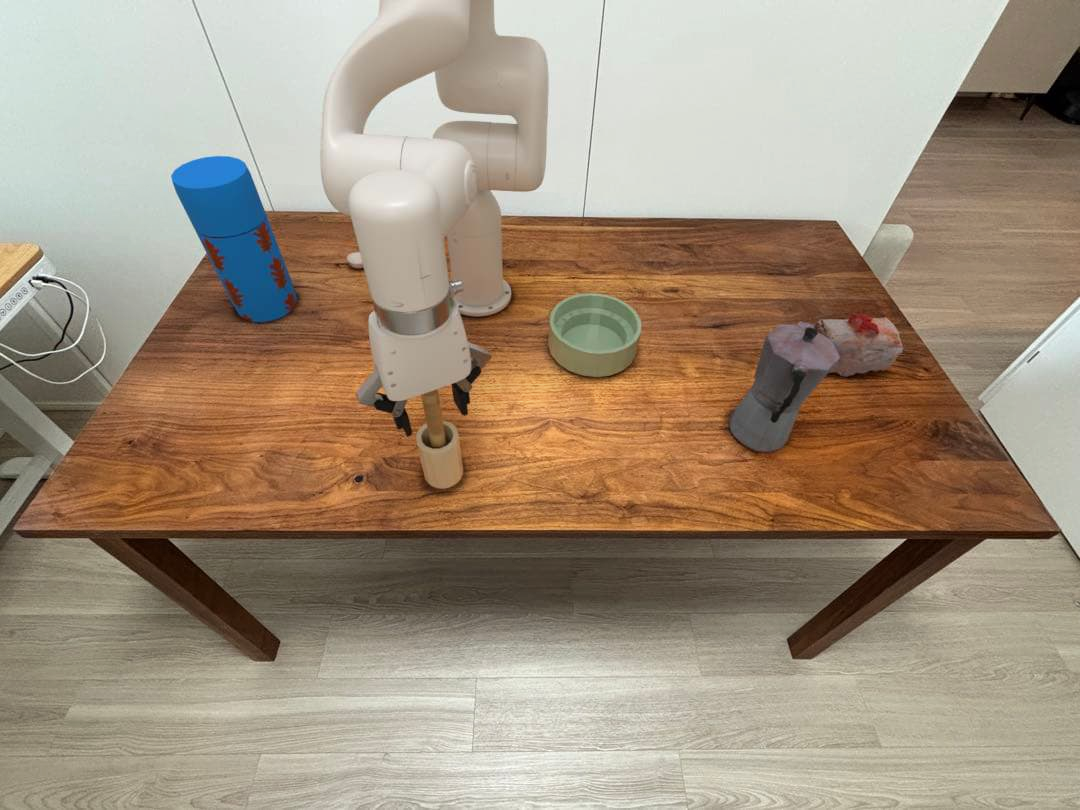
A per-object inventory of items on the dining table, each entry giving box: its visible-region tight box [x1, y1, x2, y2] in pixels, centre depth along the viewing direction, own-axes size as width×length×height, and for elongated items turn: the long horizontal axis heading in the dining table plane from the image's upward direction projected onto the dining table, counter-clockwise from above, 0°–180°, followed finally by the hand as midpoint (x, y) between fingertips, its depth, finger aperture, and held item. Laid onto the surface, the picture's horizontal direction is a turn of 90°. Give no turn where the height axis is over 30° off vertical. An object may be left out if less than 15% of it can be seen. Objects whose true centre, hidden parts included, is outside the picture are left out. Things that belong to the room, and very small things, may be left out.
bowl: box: [547, 292, 642, 378], centre depth 92 cm, size 15×15×6 cm
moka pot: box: [728, 320, 840, 453], centre depth 76 cm, size 10×15×20 cm, turn 161°
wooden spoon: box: [420, 389, 447, 449], centre depth 69 cm, size 3×2×18 cm
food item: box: [813, 313, 904, 378], centre depth 90 cm, size 14×8×10 cm, turn 96°
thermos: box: [170, 155, 298, 323], centre depth 90 cm, size 11×11×25 cm
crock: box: [415, 419, 464, 489], centre depth 73 cm, size 5×6×9 cm
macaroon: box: [346, 251, 364, 270], centre depth 108 cm, size 4×5×2 cm
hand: (433, 416), depth 67 cm, fingers open, 6 cm apart
